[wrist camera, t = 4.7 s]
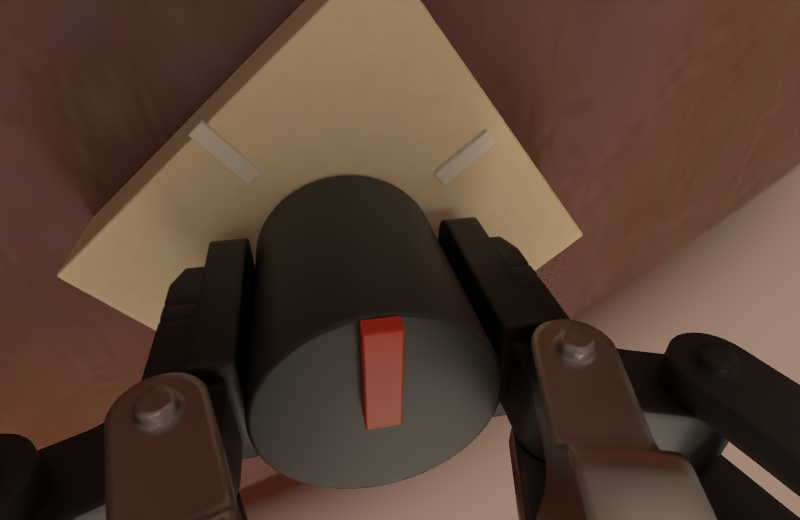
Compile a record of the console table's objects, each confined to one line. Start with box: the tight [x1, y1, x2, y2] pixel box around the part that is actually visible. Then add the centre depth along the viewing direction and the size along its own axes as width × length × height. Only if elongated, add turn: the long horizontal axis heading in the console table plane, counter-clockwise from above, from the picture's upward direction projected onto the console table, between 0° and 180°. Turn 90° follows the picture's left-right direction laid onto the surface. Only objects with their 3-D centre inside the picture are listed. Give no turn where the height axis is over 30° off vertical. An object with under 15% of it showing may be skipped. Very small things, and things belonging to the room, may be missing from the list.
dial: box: [245, 175, 503, 489], centre depth 9 cm, size 4×4×5 cm
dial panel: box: [56, 0, 583, 331], centre depth 12 cm, size 9×8×3 cm
